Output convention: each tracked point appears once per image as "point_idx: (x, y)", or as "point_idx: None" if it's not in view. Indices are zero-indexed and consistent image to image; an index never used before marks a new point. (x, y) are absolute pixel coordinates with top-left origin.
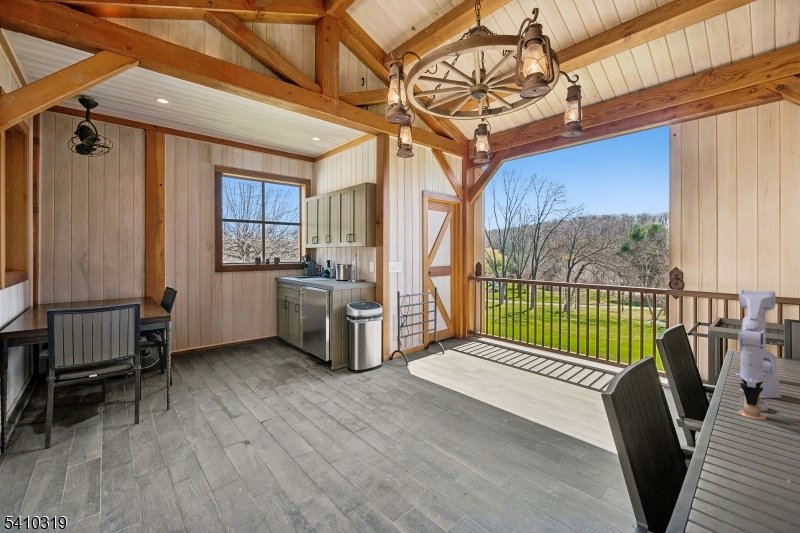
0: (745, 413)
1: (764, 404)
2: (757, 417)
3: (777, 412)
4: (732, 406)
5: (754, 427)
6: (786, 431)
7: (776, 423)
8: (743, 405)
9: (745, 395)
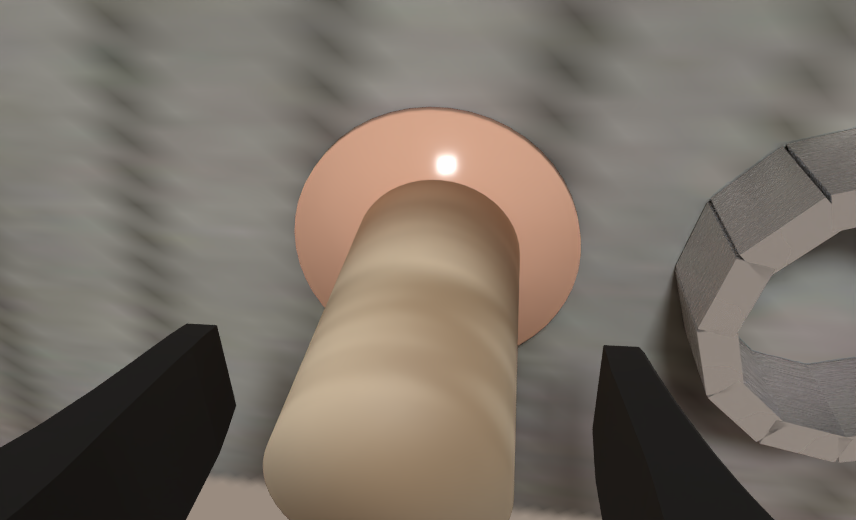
0: (382, 195)
1: (757, 429)
2: None
3: (776, 449)
4: (693, 28)
5: (28, 252)
6: None
7: None
8: (767, 177)
9: (39, 427)
